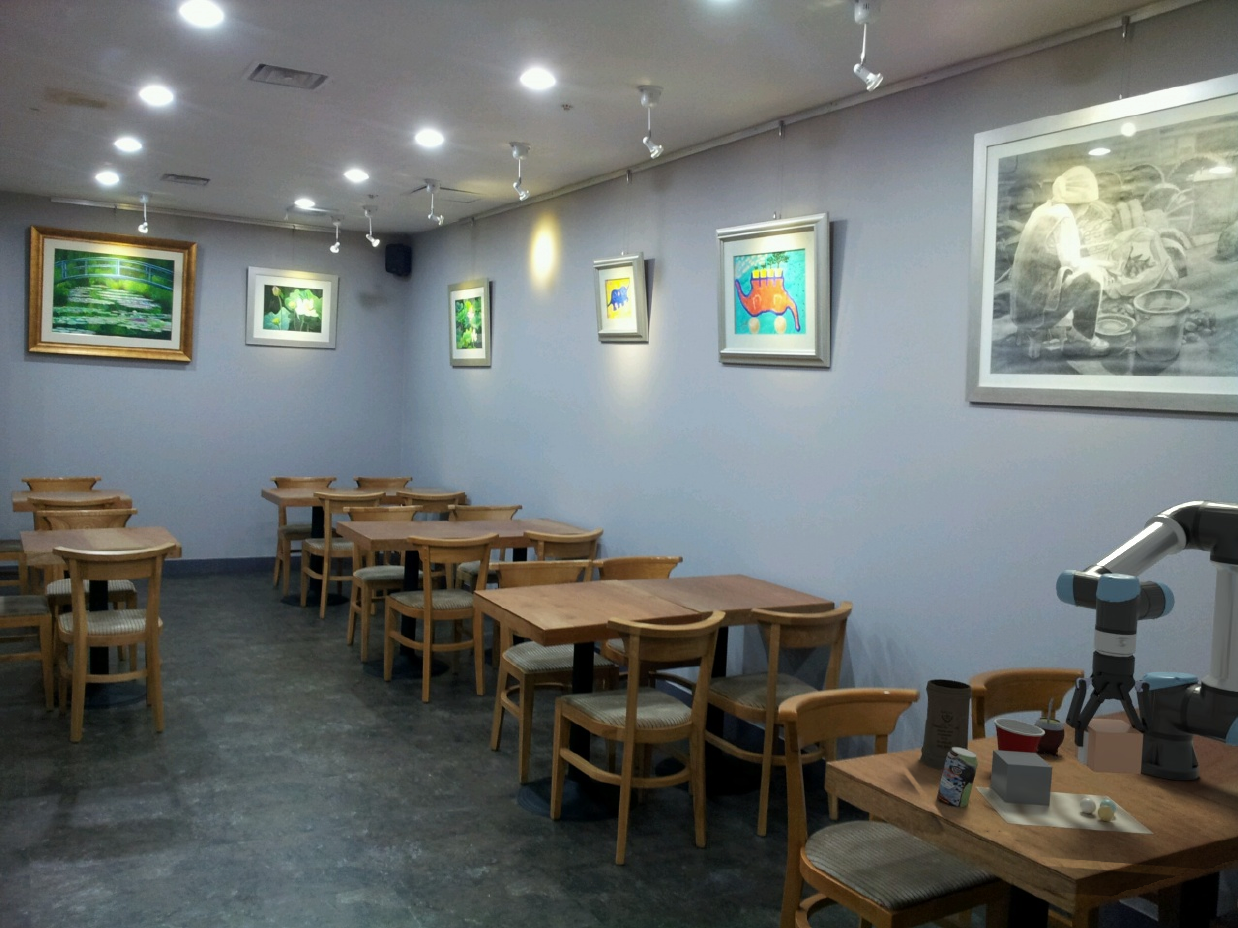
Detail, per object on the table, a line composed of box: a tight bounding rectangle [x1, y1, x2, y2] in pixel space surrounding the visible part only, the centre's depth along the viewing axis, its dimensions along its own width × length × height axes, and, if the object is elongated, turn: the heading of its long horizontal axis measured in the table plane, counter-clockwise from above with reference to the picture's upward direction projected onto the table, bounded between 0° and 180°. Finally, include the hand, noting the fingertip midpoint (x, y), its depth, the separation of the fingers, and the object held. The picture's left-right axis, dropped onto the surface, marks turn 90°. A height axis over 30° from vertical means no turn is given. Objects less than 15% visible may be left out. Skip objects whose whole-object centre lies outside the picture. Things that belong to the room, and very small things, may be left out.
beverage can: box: [936, 747, 979, 808], centre depth 203 cm, size 6×7×12 cm
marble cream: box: [1080, 798, 1096, 814], centre depth 201 cm, size 3×3×3 cm
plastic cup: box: [993, 717, 1045, 754], centre depth 225 cm, size 11×11×12 cm
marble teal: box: [1100, 799, 1116, 813], centre depth 201 cm, size 3×3×3 cm
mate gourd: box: [1034, 696, 1065, 758], centre depth 244 cm, size 8×8×15 cm
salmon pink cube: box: [1074, 718, 1143, 775], centre depth 199 cm, size 9×9×8 cm
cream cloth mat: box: [974, 786, 1155, 835], centre depth 203 cm, size 28×20×1 cm
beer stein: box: [919, 678, 973, 771], centre depth 230 cm, size 15×11×20 cm
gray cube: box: [989, 749, 1053, 806], centre depth 209 cm, size 9×9×8 cm
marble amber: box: [1098, 805, 1114, 821], centre depth 198 cm, size 3×3×3 cm
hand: (1106, 763), depth 200 cm, fingers closed on salmon pink cube, 9 cm apart
